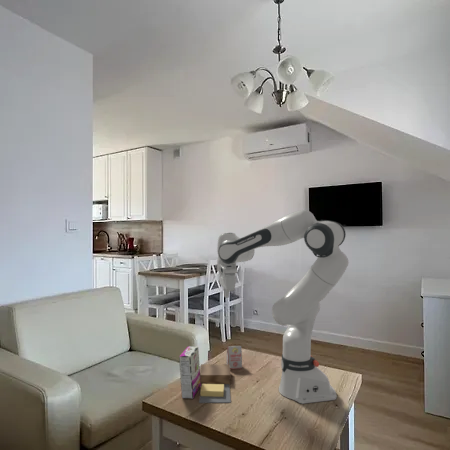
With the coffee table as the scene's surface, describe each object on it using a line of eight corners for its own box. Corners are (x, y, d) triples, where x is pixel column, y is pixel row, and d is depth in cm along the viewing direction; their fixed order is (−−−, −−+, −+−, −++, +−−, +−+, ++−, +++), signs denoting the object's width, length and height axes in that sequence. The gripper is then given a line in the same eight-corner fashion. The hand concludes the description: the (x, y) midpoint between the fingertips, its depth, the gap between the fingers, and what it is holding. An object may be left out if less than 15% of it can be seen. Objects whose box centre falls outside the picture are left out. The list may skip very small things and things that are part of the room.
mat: (229, 384, 137) (229, 384, 137) (230, 402, 123) (230, 402, 123) (200, 385, 137) (200, 384, 137) (199, 403, 122) (199, 402, 122)
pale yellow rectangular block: (223, 391, 127) (223, 396, 127) (224, 384, 133) (223, 389, 133) (200, 390, 127) (200, 396, 127) (202, 383, 133) (202, 388, 133)
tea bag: (226, 366, 156) (226, 345, 156) (240, 365, 157) (240, 344, 157) (227, 369, 152) (227, 348, 153) (241, 368, 154) (242, 347, 154)
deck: (229, 373, 148) (229, 364, 148) (230, 384, 137) (230, 375, 137) (201, 373, 148) (201, 364, 148) (199, 384, 137) (199, 375, 137)
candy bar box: (189, 385, 136) (187, 345, 137) (201, 385, 135) (199, 346, 136) (180, 398, 125) (178, 355, 126) (193, 399, 124) (190, 356, 125)
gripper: (216, 265, 161) (216, 293, 161) (223, 270, 141) (223, 302, 141) (228, 265, 163) (228, 292, 162) (238, 270, 142) (237, 301, 142)
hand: (226, 297), depth 151 cm, fingers closed
